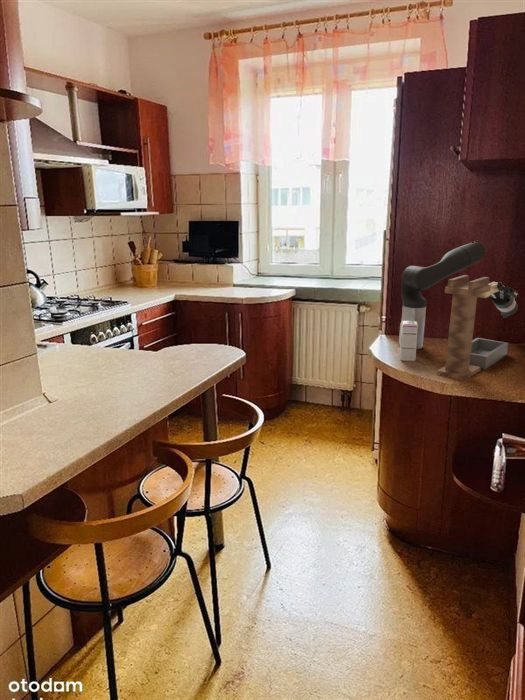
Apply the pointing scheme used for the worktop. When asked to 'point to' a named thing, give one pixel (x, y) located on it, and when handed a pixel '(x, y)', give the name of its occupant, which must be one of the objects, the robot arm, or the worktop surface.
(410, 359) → the syrup box
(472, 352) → the tray
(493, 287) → the peg
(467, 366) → the stand
